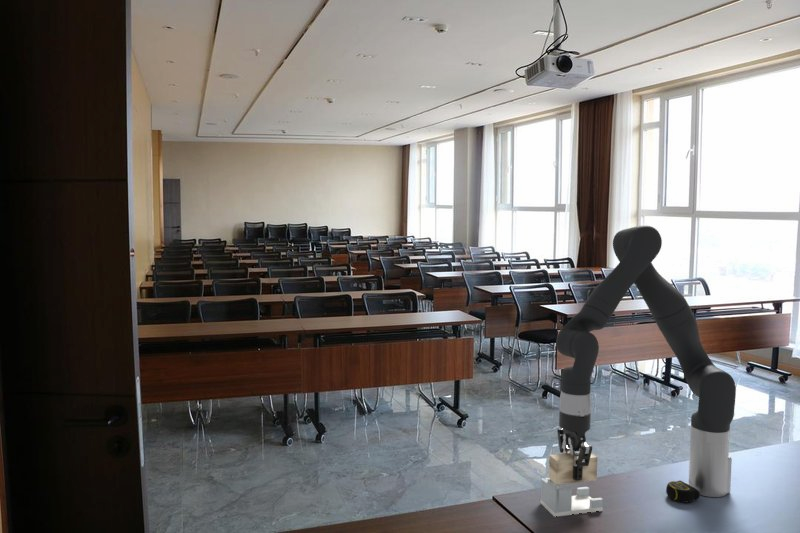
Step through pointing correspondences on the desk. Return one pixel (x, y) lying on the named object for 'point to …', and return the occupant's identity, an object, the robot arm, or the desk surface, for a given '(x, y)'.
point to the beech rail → (570, 469)
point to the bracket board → (567, 499)
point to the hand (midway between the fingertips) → (573, 475)
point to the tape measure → (681, 491)
